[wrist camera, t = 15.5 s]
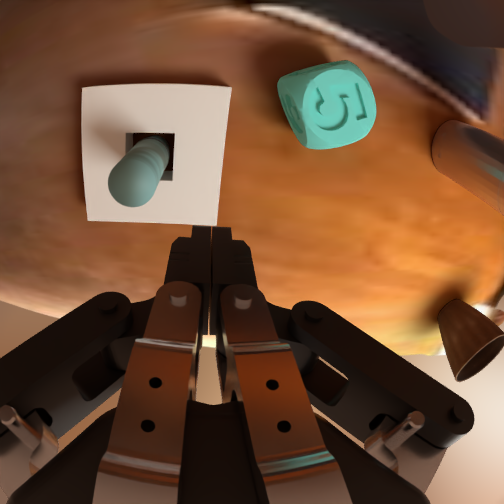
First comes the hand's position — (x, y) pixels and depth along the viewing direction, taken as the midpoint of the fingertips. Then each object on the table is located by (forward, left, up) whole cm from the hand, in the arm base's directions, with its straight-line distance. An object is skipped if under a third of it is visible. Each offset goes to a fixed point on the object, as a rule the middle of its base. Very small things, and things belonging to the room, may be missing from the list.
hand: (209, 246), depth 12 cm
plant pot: (-57, +30, -25) cm, 69 cm away
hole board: (+6, +2, -25) cm, 26 cm away
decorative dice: (-12, -6, -25) cm, 28 cm away
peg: (+6, +2, -25) cm, 26 cm away
